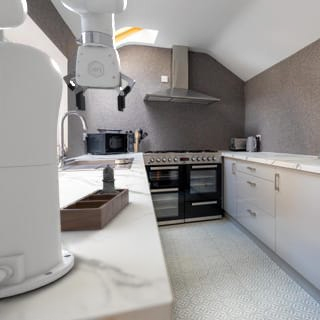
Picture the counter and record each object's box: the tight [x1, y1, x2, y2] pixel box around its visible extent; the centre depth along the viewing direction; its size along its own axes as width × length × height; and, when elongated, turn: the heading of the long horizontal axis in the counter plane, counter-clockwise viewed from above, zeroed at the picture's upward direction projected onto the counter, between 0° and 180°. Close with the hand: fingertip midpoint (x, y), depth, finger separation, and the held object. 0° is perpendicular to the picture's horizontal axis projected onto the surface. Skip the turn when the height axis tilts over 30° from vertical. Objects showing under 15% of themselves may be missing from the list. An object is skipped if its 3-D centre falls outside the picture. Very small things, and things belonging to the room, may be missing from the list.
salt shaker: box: [98, 163, 120, 194], centre depth 75 cm, size 6×6×12 cm
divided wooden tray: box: [60, 188, 130, 232], centre depth 67 cm, size 25×9×4 cm, turn 10°
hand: (101, 110), depth 70 cm, fingers open, 9 cm apart
